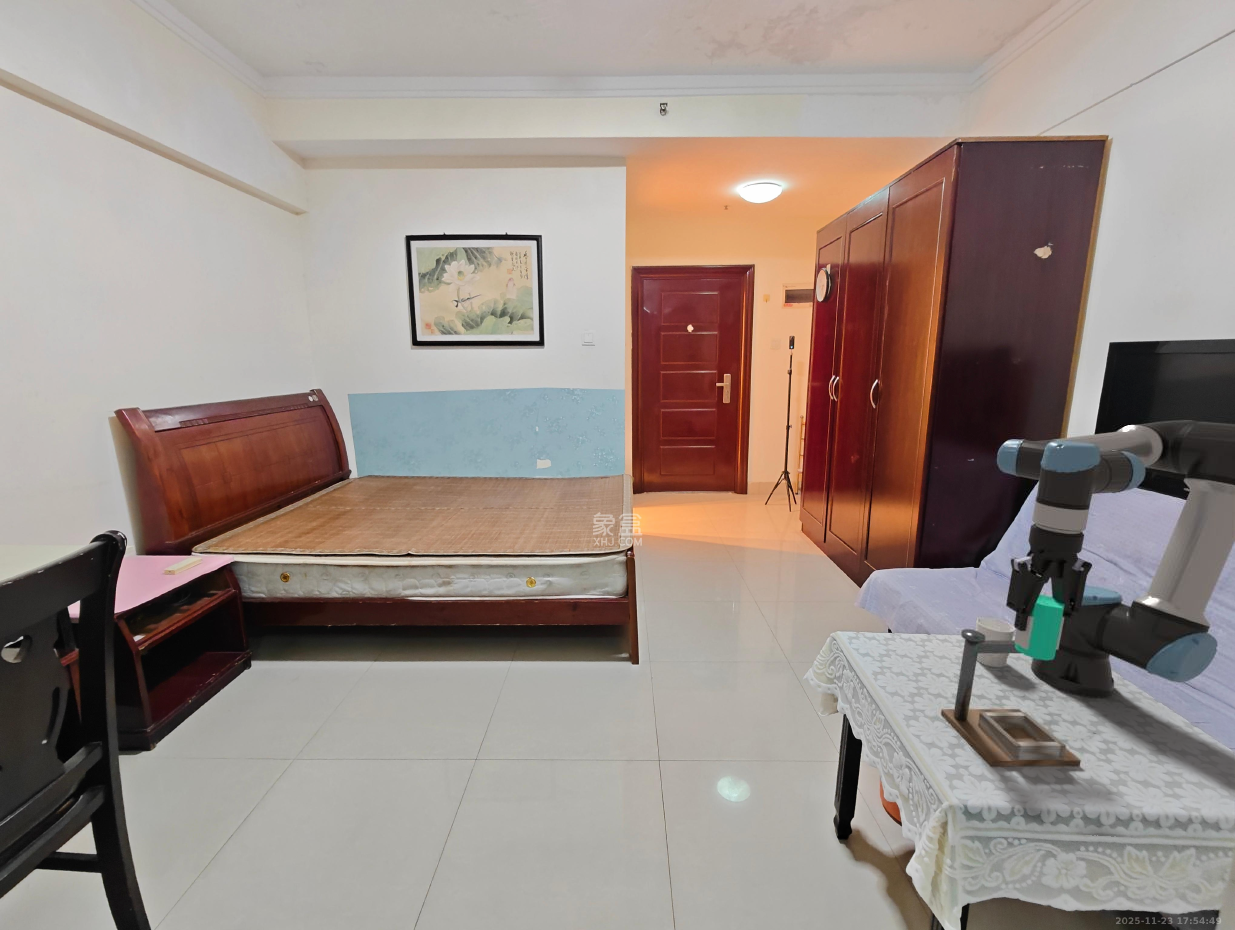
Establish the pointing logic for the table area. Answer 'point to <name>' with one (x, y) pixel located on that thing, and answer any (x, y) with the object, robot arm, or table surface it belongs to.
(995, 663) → the white cup
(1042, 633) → the candle
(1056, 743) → the board
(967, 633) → the bar
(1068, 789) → the table surface
